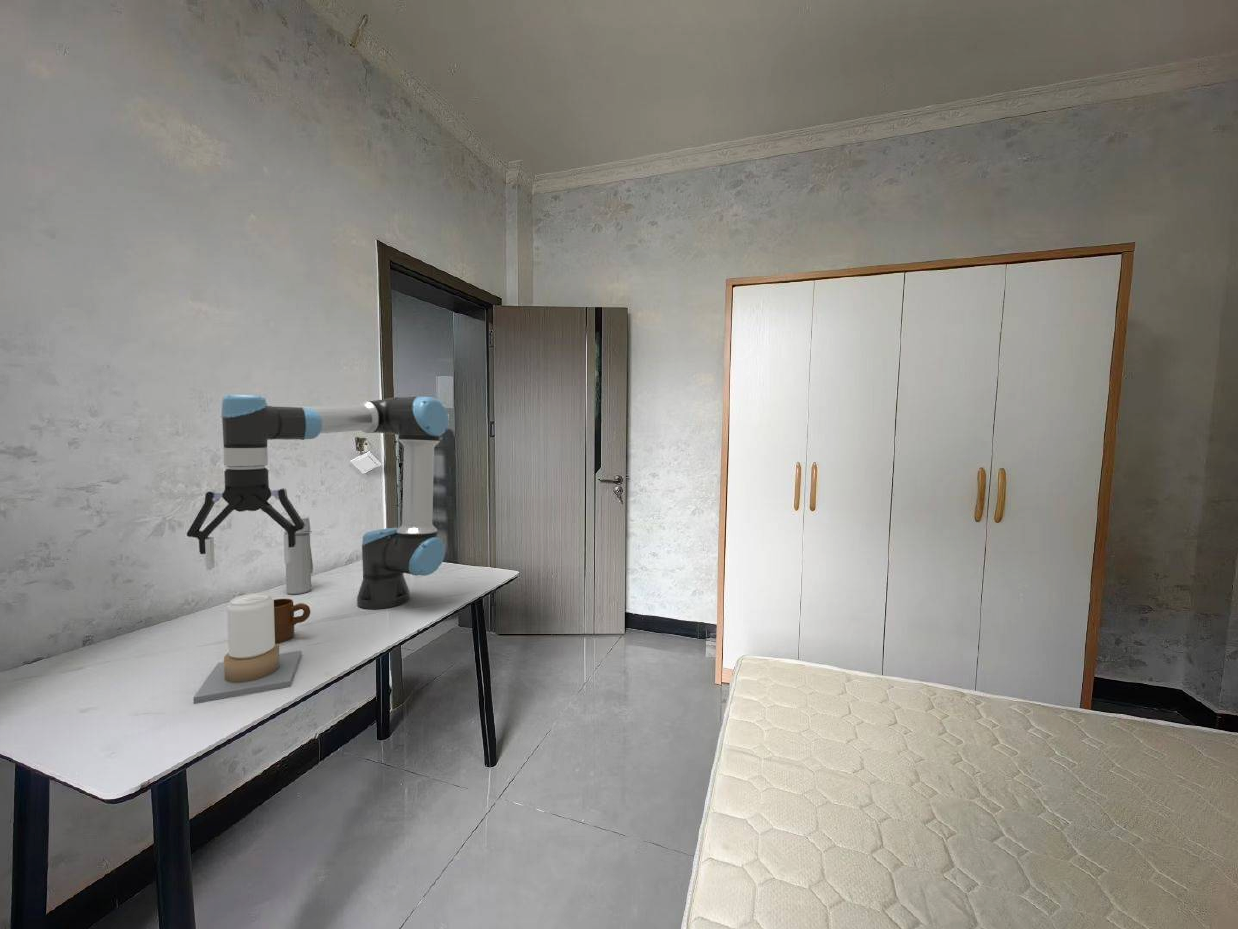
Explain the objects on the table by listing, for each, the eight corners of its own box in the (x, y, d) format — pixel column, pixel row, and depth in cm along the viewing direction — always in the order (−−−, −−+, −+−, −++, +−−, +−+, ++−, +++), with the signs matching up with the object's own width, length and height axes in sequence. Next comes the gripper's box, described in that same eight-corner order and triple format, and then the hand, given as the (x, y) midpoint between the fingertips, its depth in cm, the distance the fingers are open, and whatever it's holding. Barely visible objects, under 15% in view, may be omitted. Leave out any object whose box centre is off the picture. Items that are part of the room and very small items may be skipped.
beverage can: (245, 644, 111) (243, 592, 110) (283, 643, 111) (281, 591, 111) (219, 661, 103) (217, 604, 102) (260, 660, 103) (258, 604, 103)
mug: (317, 631, 132) (317, 597, 131) (303, 643, 124) (302, 607, 124) (269, 633, 131) (268, 598, 130) (252, 645, 123) (250, 608, 122)
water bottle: (300, 596, 160) (298, 520, 158) (279, 594, 162) (277, 519, 160) (322, 587, 169) (320, 515, 167) (302, 585, 171) (301, 514, 169)
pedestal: (301, 655, 118) (300, 632, 118) (290, 686, 104) (289, 660, 103) (218, 668, 111) (217, 644, 111) (193, 703, 97) (192, 675, 96)
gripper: (316, 465, 114) (319, 555, 115) (177, 467, 103) (182, 567, 104) (312, 467, 107) (315, 563, 109) (163, 470, 96) (168, 576, 98)
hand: (250, 565), depth 106 cm, fingers open, 13 cm apart
